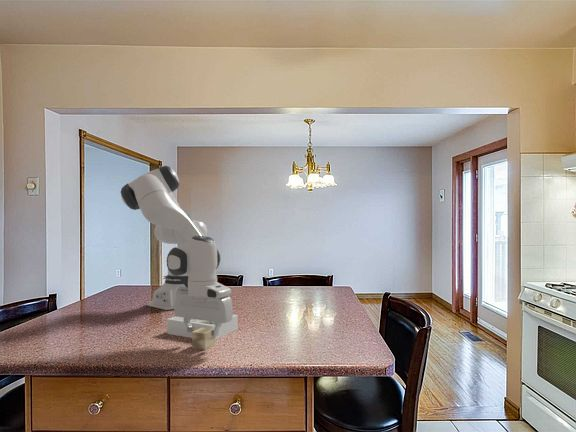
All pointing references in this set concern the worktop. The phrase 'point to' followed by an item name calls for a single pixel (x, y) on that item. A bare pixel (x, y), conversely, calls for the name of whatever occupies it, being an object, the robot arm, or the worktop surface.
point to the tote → (199, 326)
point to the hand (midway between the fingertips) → (202, 333)
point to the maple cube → (203, 339)
